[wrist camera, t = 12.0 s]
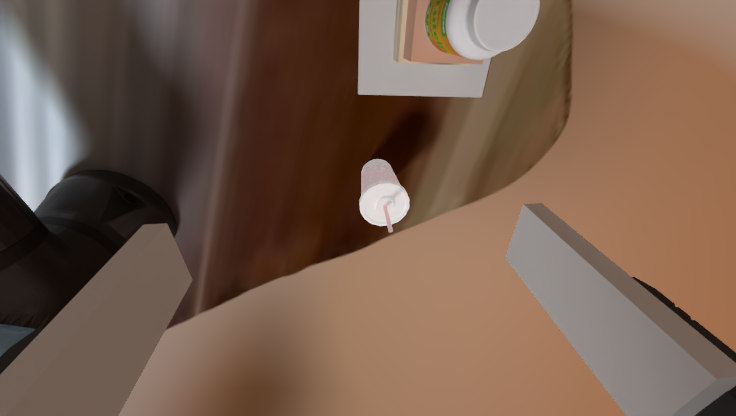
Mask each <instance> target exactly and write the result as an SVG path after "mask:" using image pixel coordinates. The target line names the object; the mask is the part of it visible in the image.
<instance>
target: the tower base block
mask: <svg viewBox="0 0 736 416" xmlns="http://www.w3.org/2000/svg"><path fill="white" fill-rule="evenodd" d="M407 9H408V0H397V6H396V19H395V32H394V46H393V59H392V60H394V61H396V62H397V63H412V64H440V65H469V66H471V64H461V63H433V62H410V61H408V60H406V59H404V58H403V53H404V42H405V31H406V20H407Z"/></svg>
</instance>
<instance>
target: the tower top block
mask: <svg viewBox="0 0 736 416" xmlns="http://www.w3.org/2000/svg"><path fill="white" fill-rule="evenodd" d="M429 1H430V0H408V9H407V20H406V31H405V42H404V53H403V58H404V59H406V60H408V61H410V62H433V63H461V64H483V60H484V59H483V60H473V59H467V58H464V57H460V56H456V55H452V54H447V53H444V52H441V51H439V50H437V49H436V48H435V47H434V46H433V45H432V44H431V43H430V41H429V40H428V38H427V35H426V31H425V24H424V20H425V13H426V9H427V6H428V3H429Z"/></svg>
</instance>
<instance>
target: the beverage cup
mask: <svg viewBox="0 0 736 416" xmlns="http://www.w3.org/2000/svg"><path fill="white" fill-rule="evenodd" d="M359 201H360V202H359V203H360V212H361V214H362V216H363V217H364V219H365V220H367V221H368V222H370V223H371V224H374V225H378V226H388V231H389V232H393V228H392V224H394V223H396V222H399V221H400V220H401V219H402V218H403V217H404V216H405V215H406V213H407V211H408V209H409V197H408V195H407V193H406V191H405V189H404V188H403V187H402V186H401V185H400V183H399V181H398V179H397V177H396V176H395V174H394V172H393V170H392V168H391V166H390V164H389V163H388V162H386V161H385V160H381V159H373V160H371V161H369V162H367V163H366V164H365V165H364V167H363V169H362V172H361V197H360V200H359Z"/></svg>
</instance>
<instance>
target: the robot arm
mask: <svg viewBox="0 0 736 416" xmlns="http://www.w3.org/2000/svg"><path fill="white" fill-rule="evenodd" d="M175 232H176V224H175V220H174V217H173V214H172V212H171V210H170V209H169V207H168V206H167V204H166V203H165V202H164V201H163V200H162V199H161V197H159V196H158V195H157V194H156V193H155V192H154V191H153V190H151V189H150V188H148V187H147V186H145V185H144V184H142V183H140V182H138V181H136V180H134V179H132V178H130V177H127V176H125V175H122V174H118V173H114V172H109V171H101V170H90V171H83V172H79V173H76V174H74V175H72V176H70V177H68V178H66V179H64V180H63V181H61V182H59V183H58V184H56V185H55V186H54V187H53V188H52V189H51V190H50V191H49V192H48V194H47V196H46V198H45V199H44V200H43V202H42V203H41V204H40V205H39V206H38V208H37V209H36V210H35V212H33V211H32V210H31V209H30V208H29V207H28V205H27V204H26V203H25V202H24V201H23V200H22V199H21V197H20V196H19V195H18V194H17V193H16V192H15V191H14V189H13V188H12V187H11V186H10V185H9V184H8V182H7V181H6V180H5V179H4V178H3V177H2V175H1V174H0V416H118V415H119V413H120V411H121V410H122V408H123V406H124V404H125V402H126V401H127V399H128V397H129V395H130V393H131V391H132V389H133V388H134V386H135V384H136V382H137V380H138V379H139V377H140V375H141V373H142V371H143V369H144V368H145V366H146V364H147V362H148V360H149V359H150V357H151V355H152V353H153V351H154V349H155V347H156V346H157V344H158V342H159V340H160V338H161V337H162V335H163V333H164V331H165V329H166V327H167V326H168V324H169V322H170V320H171V318H172V317H173V315H174V313H175V311H176V309H177V307H178V306H179V304H180V302H181V300H182V298H183V296H184V295H185V293H186V291H187V289H188V287H189V285H190V284H191V282H192V278H191V276H190V274H189V271H188V269H187V267H186V265H185V262H184V260H183V258H182V256H181V253H180V251H179V249H178V247H177V244H176V242H175V240H174V236H175ZM505 258H506V259H507V261H508V262H509V263H510V265H511V266H512V267H513V268H514V270H515V271H516V272H517V274H518V275H519V276H520V278H521V279H522V280H523V282H524V283H525V284H526V286H527V287H528V288H529V290H530V291H531V292H532V293H533V295H534V296H535V297H536V299H537V300H538V301H539V303H540V304H541V305H542V306H543V308H544V309H545V310H546V312H547V313H548V314H549V316H550V317H551V318H552V320H553V321H554V322H555V323H556V325H557V326H558V327H559V329H560V330H561V331H562V333H563V334H564V335H565V336H566V338H567V339H568V340H569V342H570V343H571V344H572V346H573V347H574V348H575V349H576V351H577V352H578V353H579V355H580V356H581V357H582V359H583V360H584V361H585V363H586V364H587V365H588V367H589V368H590V369H591V370H592V372H593V373H594V374H595V376H596V377H597V378H598V380H599V381H600V382H601V383H602V385H603V386H604V387H605V389H606V390H607V391H608V393H609V394H610V395H611V397H613V399H614V400H615V402H616V403H617V404H618V406H619V407H620V408H621V410H622V411H623V412H624V413H625V415H626V416H736V353H735V352H734V351H733V350H732V349H730V348H729V347H728V346H727V345H725V344H724V343H723V342H722V341H720V340H719V339H718V338H717V337H715V336H714V335H713V334H711V333H710V332H709V331H708V330H706V329H705V328H704V327H703V326H701V325H700V324H699V323H698V322H696V321H695V320H691V318H690V316H689V315H688V314H686V313H685V312H684V311H683V310H681V309H680V308H679V307H675V304H674V303H673V302H671V301H670V300H669V299H668V298H666V297H665V296H664V295H663V294H661V293H660V292H659V291H657V290H656V289H655V288H653V287H651V286H649V285H648V284H646V283H644V282H642V281H640V280H639V279H637V278H635V277H631V276H629V275H628V274H627V273H626V272H625V271H623V270H622V269H621V268H620V267H619V266H617V265H616V264H615V263H614V262H612V261H611V260H610V259H609V258H608V257H606V256H605V255H604V254H603V253H602V252H600V251H599V250H598V249H597V248H595V247H594V246H593V245H592V244H591V243H589V242H588V241H587V240H586V239H585V238H583V237H582V236H581V235H579V234H578V233H577V232H576V231H575V230H573V229H572V228H571V227H570V226H569V225H567V224H566V223H565V222H564V221H563V220H561V219H560V218H559V217H558V216H556V215H555V214H554V213H553V212H552V211H550V210H549V209H548V208H547V207H545V206H544V205H543V204H542V203H539V204H524V205H523V207H522V210H521V213H520V216H519V219H518V222H517V225H516V227H515V230H514V233H513V236H512V239H511V242H510V244H509V247H508V250H507V253H506V256H505Z"/></svg>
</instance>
